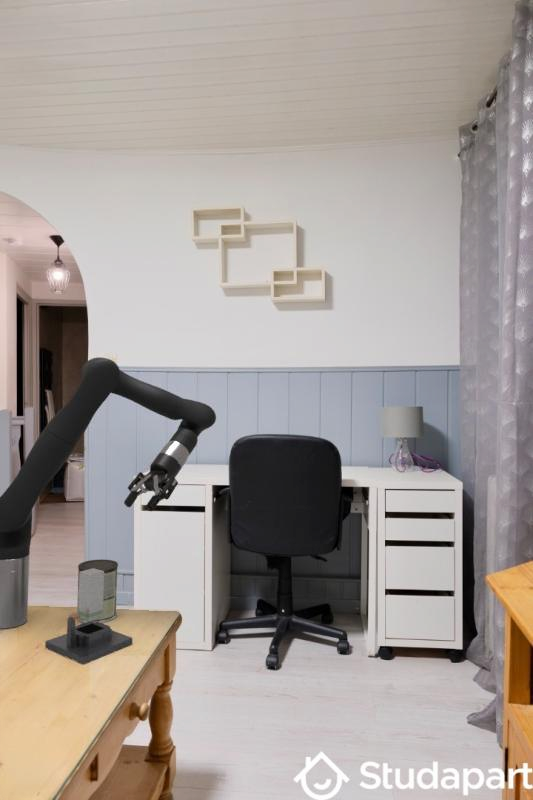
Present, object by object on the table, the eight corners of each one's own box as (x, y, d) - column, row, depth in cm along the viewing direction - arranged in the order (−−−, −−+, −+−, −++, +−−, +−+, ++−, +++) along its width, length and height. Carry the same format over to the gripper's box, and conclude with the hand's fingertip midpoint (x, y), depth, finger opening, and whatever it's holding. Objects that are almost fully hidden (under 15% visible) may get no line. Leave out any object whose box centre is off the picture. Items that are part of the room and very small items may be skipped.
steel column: (77, 617, 135) (79, 571, 135) (91, 613, 138) (93, 568, 138) (88, 622, 132) (90, 575, 133) (102, 617, 136) (104, 571, 136)
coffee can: (68, 617, 153) (70, 564, 153) (100, 607, 161) (101, 557, 161) (92, 627, 147) (94, 571, 147) (124, 616, 155) (126, 563, 155)
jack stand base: (45, 647, 133) (46, 611, 134) (94, 629, 145) (95, 596, 145) (82, 664, 125) (84, 625, 125) (132, 644, 137) (133, 608, 137)
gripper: (145, 450, 162) (111, 495, 152) (181, 453, 153) (148, 501, 144) (159, 467, 166) (127, 512, 156) (195, 471, 157) (163, 519, 148)
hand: (137, 507), depth 150 cm, fingers open, 8 cm apart
